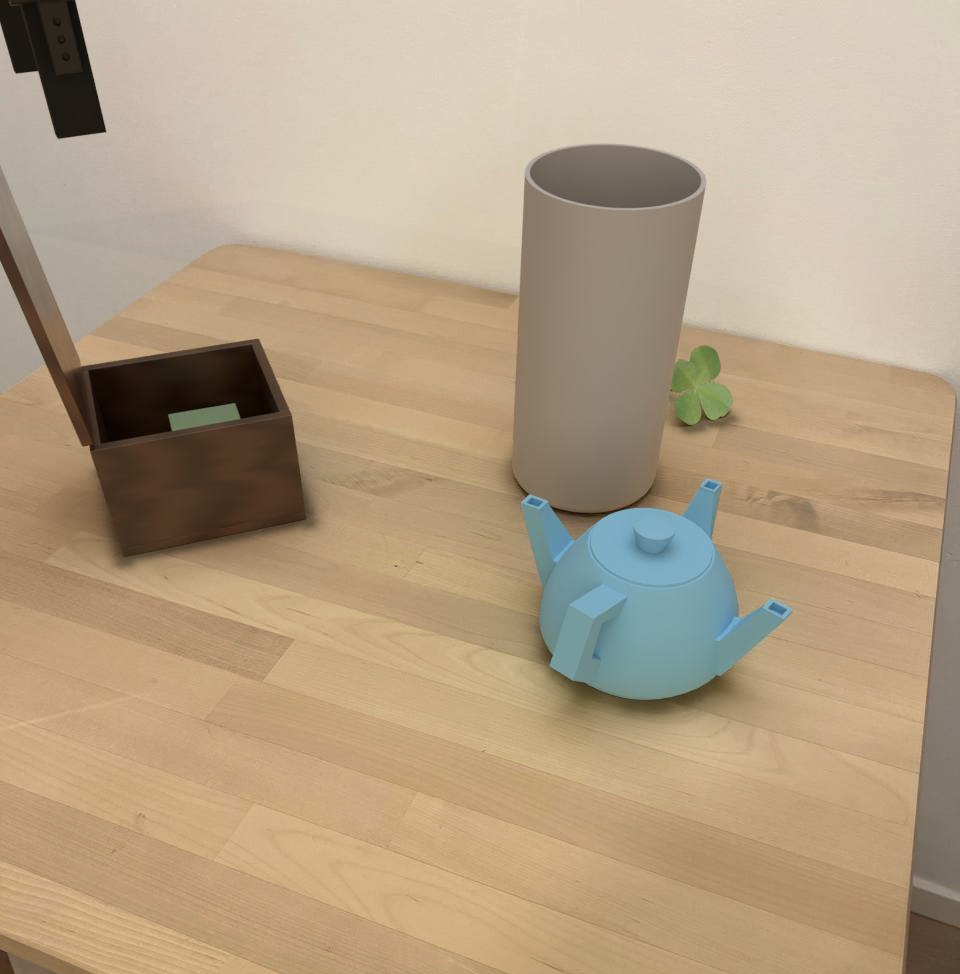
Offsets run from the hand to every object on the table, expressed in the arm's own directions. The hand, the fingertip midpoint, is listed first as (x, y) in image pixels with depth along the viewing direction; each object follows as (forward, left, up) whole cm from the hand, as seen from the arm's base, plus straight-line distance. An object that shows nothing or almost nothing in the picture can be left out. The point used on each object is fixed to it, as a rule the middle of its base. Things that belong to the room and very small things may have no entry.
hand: (57, 100), depth 59 cm
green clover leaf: (+1, +50, -31) cm, 58 cm away
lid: (0, -4, -12) cm, 13 cm away
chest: (0, +3, -30) cm, 31 cm away
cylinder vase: (+8, +35, -31) cm, 47 cm away
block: (0, +5, -30) cm, 30 cm away
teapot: (+28, +30, -31) cm, 51 cm away
